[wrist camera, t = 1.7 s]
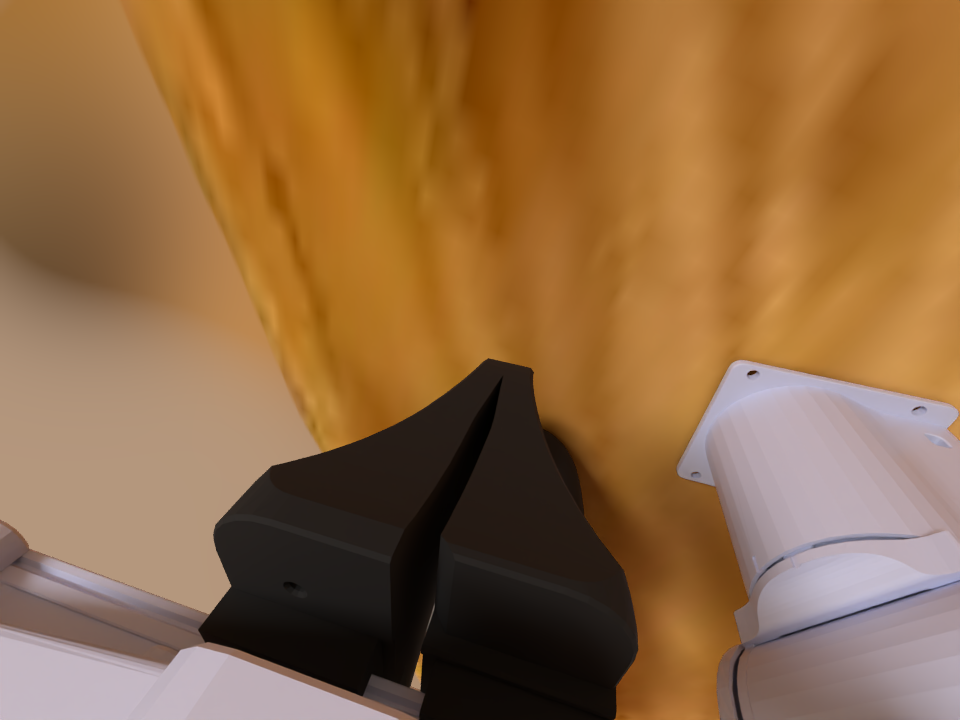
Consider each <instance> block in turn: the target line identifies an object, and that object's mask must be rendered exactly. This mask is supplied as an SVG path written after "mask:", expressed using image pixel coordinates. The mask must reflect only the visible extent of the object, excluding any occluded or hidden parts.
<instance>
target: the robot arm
mask: <svg viewBox="0 0 960 720" xmlns="http://www.w3.org/2000/svg"><path fill="white" fill-rule="evenodd" d="M752 370H756V371H757V372H756V373H755V374H753V375H747V373H748V372H749V371H752ZM533 374H534V372H533V371H532V369H531V368H528V367H524V366H519V365H515V364H511V363H506V362H502V361H497V360H493V359H489V358H488V359H487V360H485V361H484V362H483V363H482V364H480V365H479V366H478V367H477V368H476V369H475V370H474V371H473V372H472V373H471V374H469V375H468V376H467V377H466V378H465V379H463V380H462V381H461V382H460V383H458V384H457V385H456V386H455V387H453V388H452V389H451V390H450V391H448V392H447V393H446V394H444V395H443V396H441V397H440V398H438V399H437V400H435V401H434V402H433V403H431V404H430V405H428V406H427V407H425V408H424V409H422V410H420V411H419V412H417V413H415V414H414V415H412V416H410V417H408V418H407V419H405V420H403V421H401V422H399V423H397V424H395V425H393V426H391V427H389V428H387V429H385V430H382V431H380V432H378V433H376V434H373V435H371V436H369V437H367V438H364V439H362V440H359V441H356V442H354V443H351V444H348V445H345V446H342V447H339V448H336V449H333V450H330V451H327V452H324V453H321V454H318V455H314V456H310V457H306V458H302V459H298V460H295V461H291V462H287V463H283V464H279V465H274V466H272V467H270V468H269V469H268V470H267V471H266V472H265V473H264V474H263V475H262V476H261V477H260V478H259V479H258V480H257V481H255V483H254V484H253V485H252V486H251V487H250V488H249V489H248V490H247V491H246V492H245V493H244V494H243V496H242V497H241V498H240V499H239V500H238V501H237V502H236V503H235V504H234V505H233V506H232V508H231V509H230V510H229V511H228V512H227V513H226V514H225V515H224V516H223V517H222V518H221V519H220V520H219V522H218V523H217V524H216V525H215V529H214V534H213V536H214V543H215V547H216V551H217V553H218V555H219V558H220V560H221V562H222V565H223V567H224V570H225V572H226V574H227V577H228V579H229V581H230V584H231V588H230V589H229V590H228V592H227V593H226V594H225V595H224V597H223V598H222V599H221V601H220V602H219V603H218V604H217V606H216V607H215V609H214V610H213V611H212V612H211V614H210V615H209V614H206V613H203V612H201V611H198V610H195V609H192V608H190V607H187V606H184V605H181V604H179V603H176V602H173V601H171V600H168V599H165V598H162V597H160V596H157V595H154V594H151V593H149V592H146V591H143V590H140V589H138V588H135V587H132V586H129V585H127V584H124V583H121V582H119V581H116V580H113V579H110V578H108V577H105V576H102V575H100V574H97V573H94V572H91V571H89V570H86V569H83V568H80V567H77V566H75V565H72V564H69V563H67V562H64V561H61V560H59V559H56V558H53V557H50V556H47V555H45V554H42V553H39V552H37V551H34V550H31V549H29V545H28V543H27V542H26V541H25V539H24V538H23V536H22V535H21V534H20V533H19V532H18V531H17V530H16V529H15V528H13V527H12V526H10V525H9V524H7V523H6V522H4V521H1V520H0V720H614V719H615V717H616V686H617V684H618V683H619V681H620V680H621V679H622V677H623V676H624V674H625V673H626V672H627V670H628V669H629V667H630V666H631V664H632V663H633V662H634V660H635V657H636V654H637V652H638V635H637V626H636V621H635V615H634V610H633V605H632V600H631V596H630V592H629V588H628V584H627V580H626V577H625V573H624V570H623V569H622V568H621V566H620V565H619V564H618V562H617V561H616V560H615V559H614V557H613V556H612V555H611V553H610V552H609V551H608V550H607V548H606V547H605V546H604V544H603V543H602V542H601V540H600V539H599V538H598V536H597V535H596V533H595V532H594V530H593V529H592V527H591V526H590V524H589V523H588V521H587V520H586V518H585V517H584V515H583V514H582V512H581V510H580V509H579V507H578V505H577V504H576V502H575V500H574V498H573V497H572V495H571V493H570V492H569V490H568V488H567V486H566V485H565V483H564V481H563V479H562V477H561V474H560V472H559V470H558V468H557V466H556V464H555V462H554V459H553V457H552V455H551V452H550V450H549V447H548V444H547V442H546V439H545V436H544V433H543V430H542V426H541V423H540V419H539V415H538V411H537V407H536V402H535V396H534V389H533ZM919 406H921V407H920V408H919V409H917V410H912V409H914V408H915V407H919ZM958 416H959V412H958V410H957V409H956V408H955V407H953V406H952V405H950V404H948V403H944V402H939V401H934V400H930V399H925V398H920V397H916V396H911V395H906V394H901V393H897V392H892V391H887V390H883V389H878V388H873V387H868V386H864V385H859V384H854V383H850V382H845V381H840V380H836V379H831V378H826V377H821V376H817V375H812V374H807V373H803V372H798V371H793V370H788V369H784V368H779V367H774V366H770V365H765V364H760V363H755V362H751V361H746V360H738V361H735V362H733V363H732V364H731V365H730V366H729V368H728V370H727V372H726V374H725V375H724V377H723V379H722V381H721V383H720V385H719V387H718V389H717V391H716V393H715V394H714V396H713V398H712V400H711V402H710V404H709V406H708V408H707V410H706V412H705V413H704V415H703V417H702V419H701V421H700V423H699V425H698V427H697V429H696V431H695V432H694V434H693V436H692V438H691V440H690V442H689V444H688V446H687V448H686V450H685V451H684V453H683V455H682V457H681V459H680V461H679V463H678V465H677V467H676V470H677V474H678V475H679V476H680V477H682V478H685V479H688V480H692V481H696V482H700V483H704V484H708V485H711V486H715V487H716V490H717V493H718V497H719V500H720V504H721V507H722V510H723V514H724V517H725V521H726V524H727V527H728V531H729V534H730V538H731V541H732V544H733V548H734V551H735V555H736V558H737V561H738V565H739V568H740V572H741V575H742V578H743V582H744V585H745V589H746V592H747V595H748V599H749V602H748V603H747V604H746V605H745V606H743V607H742V608H740V609H738V610H736V611H734V616H735V620H736V624H737V627H738V631H739V635H740V639H741V643H742V644H740V645H736V646H734V647H732V648H730V649H729V650H728V651H727V652H726V653H725V654H724V655H723V656H722V659H721V661H720V663H719V668H718V673H717V698H718V707H719V715H720V720H960V441H959V440H958V439H957V438H956V437H955V436H954V435H953V434H952V433H951V432H950V431H949V430H947V428H948V427H949V426H950V425H951V424H952V423H953V422H954V421H955V420H956V419H957V417H958ZM692 472H698V473H696V474H694V473H692ZM434 604H435V607H434ZM433 608H434V611H433ZM432 611H433V614H432ZM431 614H432V617H431ZM430 618H431V620H430ZM429 621H430V623H429ZM428 624H429V626H428ZM427 628H428V629H427ZM426 631H427V632H426ZM425 634H426V635H425ZM420 651H421V654H423V660H422V676H421V691H420V692H419V691H417V690H414V689H411V688H410V686H411V682H412V679H413V676H414V672H415V669H416V665H417V662H418V658H419V655H420Z"/></svg>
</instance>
